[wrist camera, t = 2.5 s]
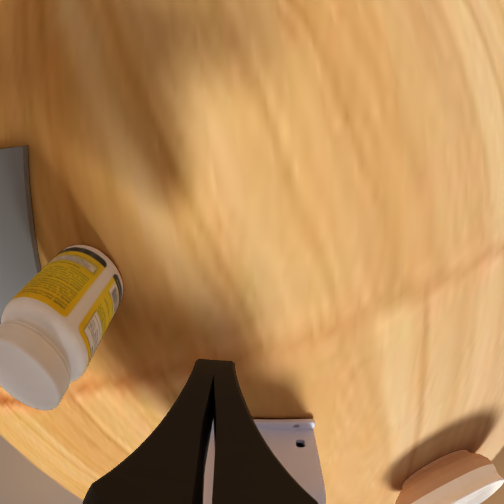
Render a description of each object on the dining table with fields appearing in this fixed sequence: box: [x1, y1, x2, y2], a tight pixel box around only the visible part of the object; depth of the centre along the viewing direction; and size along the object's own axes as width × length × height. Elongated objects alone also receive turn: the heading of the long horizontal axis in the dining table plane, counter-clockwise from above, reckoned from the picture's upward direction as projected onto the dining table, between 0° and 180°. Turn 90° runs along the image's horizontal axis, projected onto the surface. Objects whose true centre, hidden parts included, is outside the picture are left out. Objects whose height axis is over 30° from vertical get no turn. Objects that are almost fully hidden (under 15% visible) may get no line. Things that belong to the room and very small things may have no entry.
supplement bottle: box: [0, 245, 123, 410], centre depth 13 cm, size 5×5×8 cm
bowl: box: [396, 450, 504, 504], centre depth 27 cm, size 16×16×8 cm
